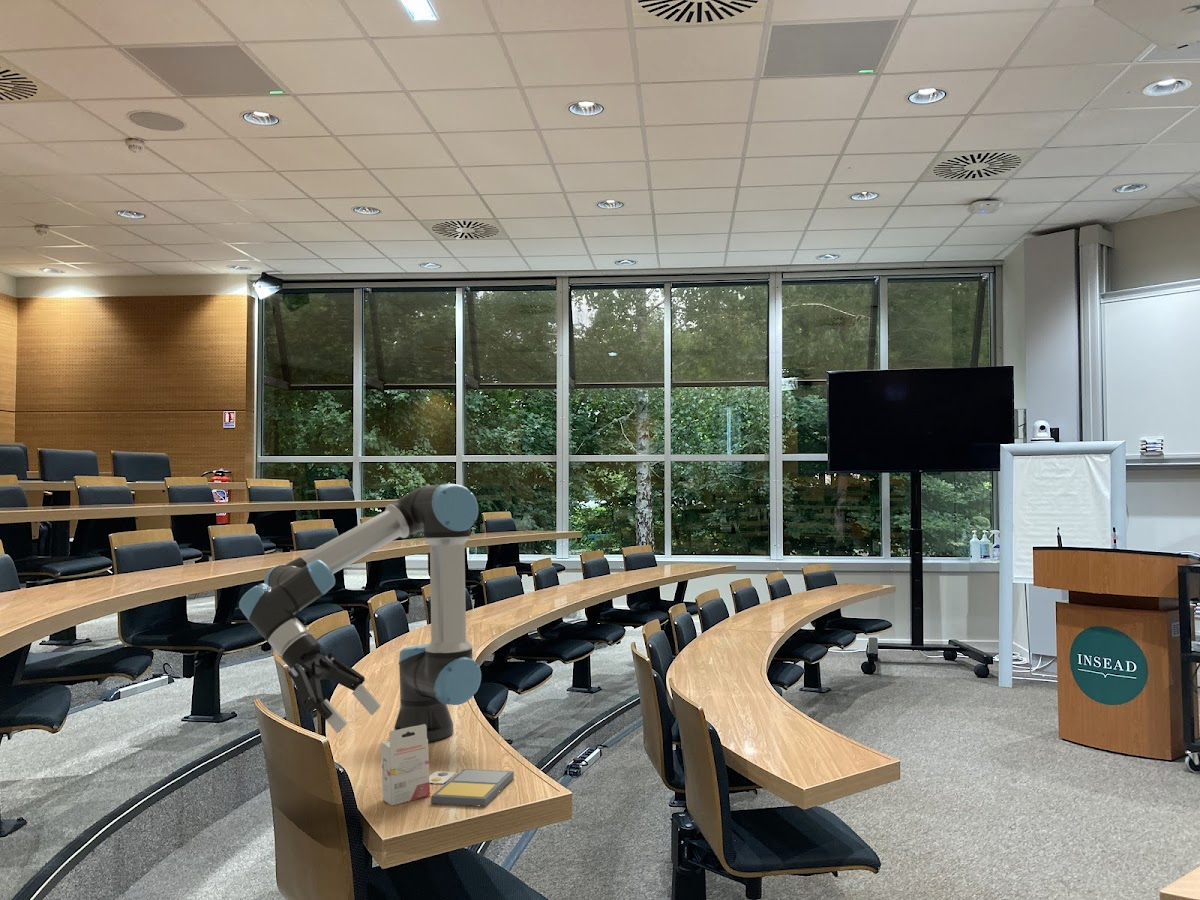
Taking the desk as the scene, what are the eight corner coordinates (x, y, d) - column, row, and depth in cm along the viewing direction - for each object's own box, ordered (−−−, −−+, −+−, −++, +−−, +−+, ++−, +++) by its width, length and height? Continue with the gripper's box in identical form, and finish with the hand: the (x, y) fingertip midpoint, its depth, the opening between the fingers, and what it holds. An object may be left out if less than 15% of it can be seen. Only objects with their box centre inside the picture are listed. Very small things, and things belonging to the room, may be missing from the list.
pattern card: (435, 772, 186) (435, 770, 186) (456, 773, 185) (456, 771, 185) (422, 783, 179) (422, 781, 179) (443, 784, 178) (443, 782, 178)
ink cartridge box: (420, 789, 175) (418, 719, 176) (430, 796, 171) (428, 723, 172) (381, 799, 170) (379, 726, 171) (390, 806, 166) (389, 731, 167)
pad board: (463, 775, 183) (463, 768, 183) (513, 778, 181) (513, 770, 181) (431, 803, 167) (431, 795, 167) (485, 806, 164) (485, 798, 165)
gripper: (317, 646, 191) (378, 715, 186) (247, 669, 166) (314, 749, 162) (338, 623, 190) (399, 692, 185) (270, 643, 165) (338, 722, 161)
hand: (360, 719), depth 174 cm, fingers open, 13 cm apart
